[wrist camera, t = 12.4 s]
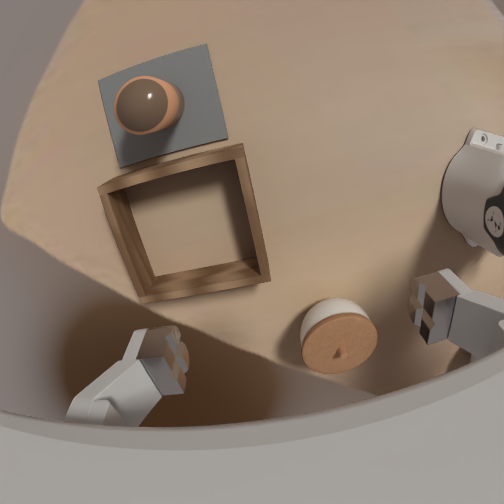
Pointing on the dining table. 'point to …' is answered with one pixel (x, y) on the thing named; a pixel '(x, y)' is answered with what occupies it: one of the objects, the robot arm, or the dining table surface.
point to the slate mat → (195, 112)
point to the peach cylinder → (148, 105)
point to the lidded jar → (336, 336)
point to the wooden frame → (188, 280)
